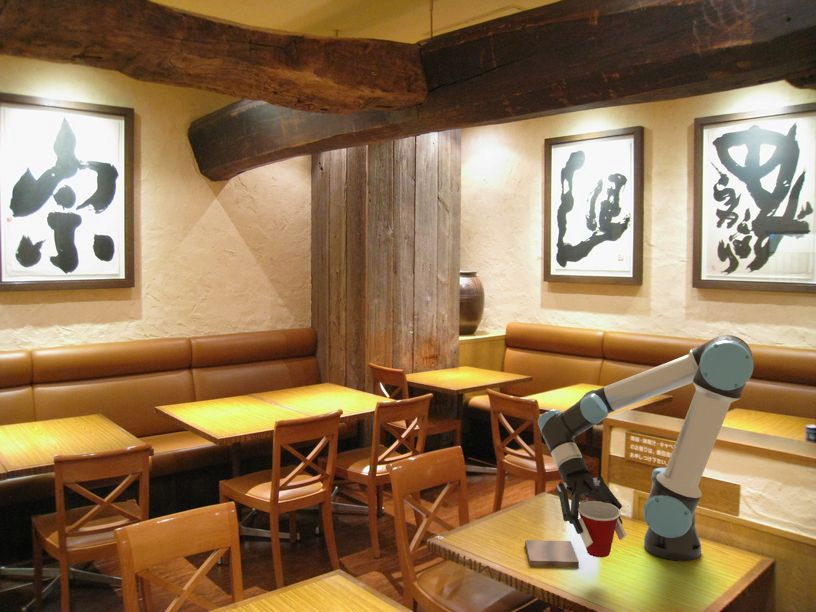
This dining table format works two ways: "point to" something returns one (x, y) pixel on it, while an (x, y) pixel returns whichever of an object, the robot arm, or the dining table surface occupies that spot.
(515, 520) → the dining table surface
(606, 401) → the robot arm
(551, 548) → the walnut coaster board
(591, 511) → the plastic cup
